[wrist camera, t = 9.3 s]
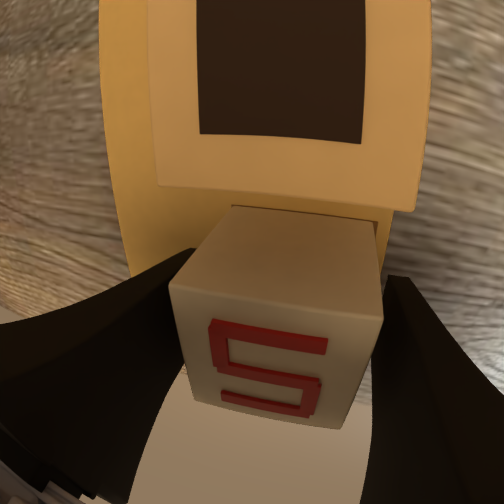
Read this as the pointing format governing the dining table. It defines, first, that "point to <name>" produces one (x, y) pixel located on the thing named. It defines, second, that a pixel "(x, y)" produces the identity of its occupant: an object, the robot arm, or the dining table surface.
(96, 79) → the dining table surface
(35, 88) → the dining table surface
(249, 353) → the letter s
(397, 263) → the dining table surface
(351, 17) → the yellow wooden block holder
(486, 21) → the dining table surface
